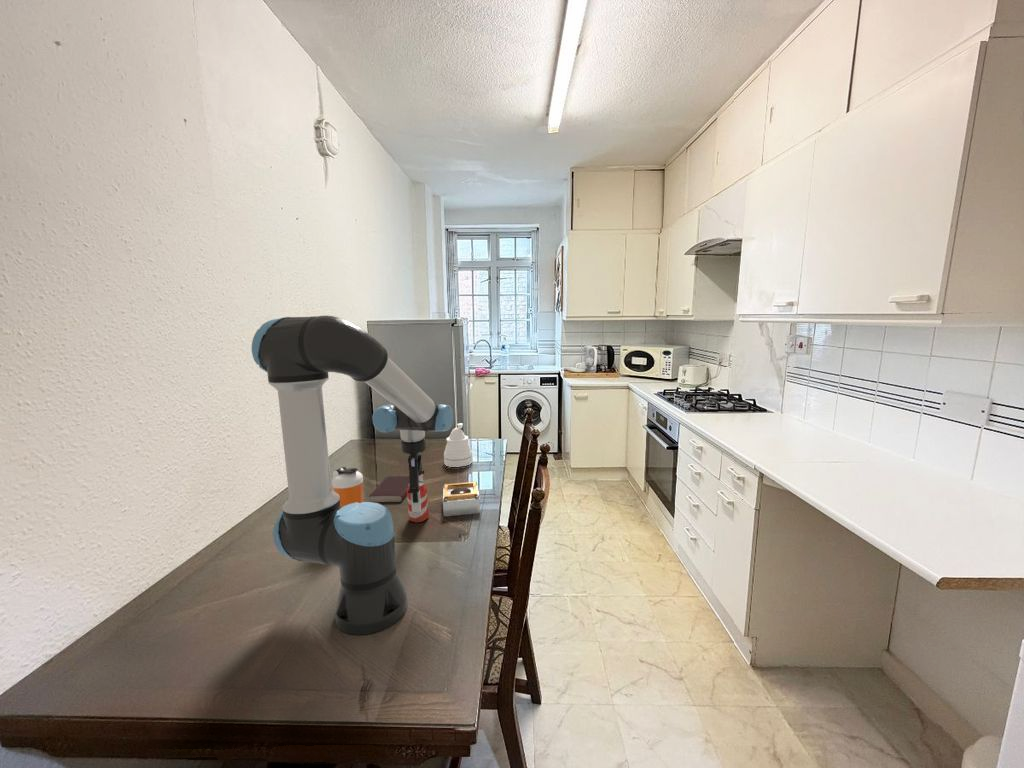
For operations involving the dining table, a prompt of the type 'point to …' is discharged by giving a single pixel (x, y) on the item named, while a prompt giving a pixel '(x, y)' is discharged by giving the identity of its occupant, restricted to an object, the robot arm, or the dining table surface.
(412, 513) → the beverage can
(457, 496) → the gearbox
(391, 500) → the book
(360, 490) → the shaker bottle
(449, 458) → the honey pot
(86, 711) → the dining table surface
